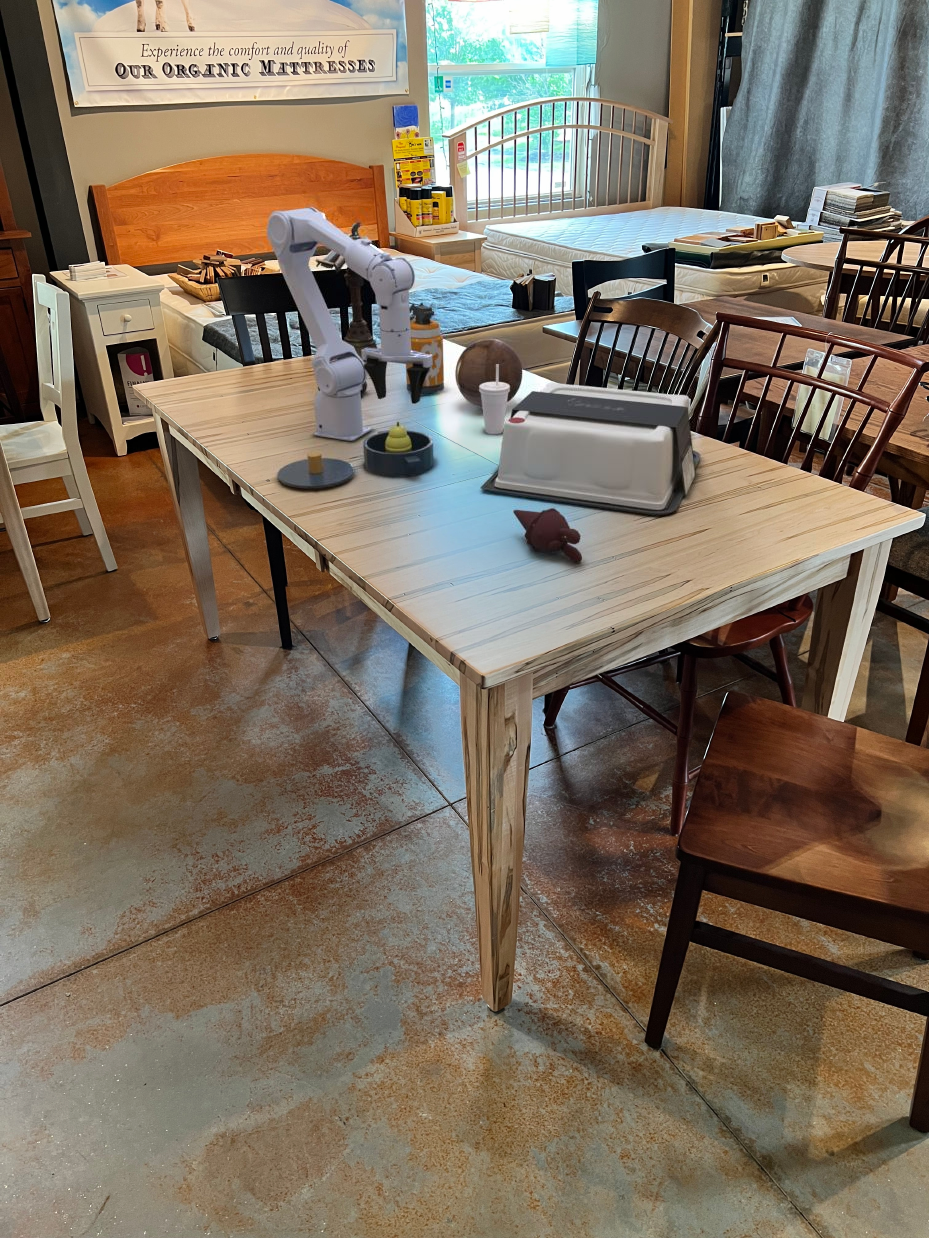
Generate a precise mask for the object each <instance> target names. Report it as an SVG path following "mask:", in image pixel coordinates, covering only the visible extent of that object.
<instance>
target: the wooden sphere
mask: <svg viewBox="0 0 929 1238" xmlns="http://www.w3.org/2000/svg"><path fill="white" fill-rule="evenodd" d="M497 364H498V365H499V382H503V383H507V384H508V385H509V386H510V391H509V392H508V398H507V403H509V402H510V401H511V400H513V398H514V397H515V396H516V394H517V393H518V392H519V389H520V387H521V384H522V381H523V366H522V362H521V359H520V357H519V355H518V353H517V352H516V351H515V349H513V347H512V346H511V345H510V344H507V343H505V342H504V341H502V340H499V339H495V338H484V339H479V340H477V341H473V342H472V343H471V344H469V345H468V346H466V348H464V350H463V351H462V353H461V354H460V355H459V357H458V360H457V361H456V366H455V371H454V372H455V375H454V376H455V383H456V386H457V389H458V390H459V392H460V394H461V396H462V397H463V398H464V399H465V400H466V401H467V402H468V403H470V404H471V405H473V406H475V407H477V408H481V409H483V406H482V399H481V392H480V391H479V386H480V385H481V384H483V383H486V382H496V365H497Z"/></svg>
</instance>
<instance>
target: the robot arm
mask: <svg viewBox="0 0 929 1238" xmlns="http://www.w3.org/2000/svg"><path fill="white" fill-rule="evenodd" d="M347 235H348V234H346V233H344V232H343V231H342V230H341V229H339V228H338V227H337V226H336V225H334V224H333V223H331V222H330V221H329V220H327V218H326V214H325V213H324V212H323V211H322V212H321V211H319V210H318V209H317V208H315V207H312V206H306V207H304V208H298V209H290V210H275V211H273V212H271V214H270V215H269V217H268V222H267V227H266V237H267V238H268V241H269V244H270V245H271V248H272V250H273V252H274V254H275V257H276V259H277V263H278V266H279V269H280V271H281V273H282V275H283V278H284V280H285V282H286V285H287V287H288V289H289V292H290V294H291V296H292V298H293V300H294V302H295V305H296V307H297V309H298V311H299V313H300V316H301V318H302V321H303V322H304V325H305V327H306V330H307V331H308V334H309V336H310V338H311V340H312V343H313V345H314V348H315V350H316V352H315V354H314V356H313V357H312V359H311V363H310V365H311V366H312V369H313V372H314V380H315V383H316V385H317V388H318V387H319V389H320V391H319V390H318V391H317V392H316V394H315V397H314V400H313V409H314V410H313V411H314V420H315V430H316V432H314V436H318V437H323V438H329V439H335V440H340V441H341V440H342V441H349V442H354V441H355V440H357V439H359V438H361V437H362V436H364V435H365V434H367V433H369V432H371V431H372V428H371V427H367V426H364V425H363V424H364V423H363V410H362V409H363V408H362V397H361V396H362V395H360V390H362V384H363V383H364V382H365V381H366V382H367V378H368V376H369V377H370V380H371V382H372V385H373V387H374V390H375V394H376V396H377V399H378V400H382V399H384V398H386V397H387V379H386V378H387V366H388V363H392V364H393V363H395V364H403V365H406V364H410V365H413V367H410V368H408V369H407V373H408V376H409V381H410V387H411V392H410V401H411V404H412V405H415V404H418V403H419V402H421V396H422V395H421V391H422V387H423V384H424V381H425V378H426V376H427V374H428V372H429V370H430V366H432V365H433V362H432V355H428V354H423V353H419V352H416V351H412V350H411V334H410V316H411V313H410V310H409V308H410V290H411V289H412V288H413V286H414V284H415V279H416V276H415V270H414V268H413V266H412V264H411V263H410V261H408V260H407V259H406V258H405V257H402V256H401V257H396V258H394V257H391V253H389V252H387V251H382V250H381V249H380V248H379V247H378V248H377V247H376V246H375V245H373V244H372V243H373V242H372V240H371V239H369V238H368V239H357V240H355V241H354V240H352V239H351V238H350V237H348V236H347ZM319 245H321V246H323V247H325V248H326V249H328V250H330V251H334V252H336V253H337V254H339V255H341V256H343V257H345V262H346V263H345V264H346V266H347V267H349V268H350V269H351V270H353V271H354V272H356V273H357V274H359V275H360V276H362V277H363V279H365V280H366V281H368V282H369V283H370V287H371V288H372V290H373V292H374V294H375V302H376V303H377V305H378V318H379V321H378V322H379V335H380V347H377V348H365V349H362V350H361V353H362V359H361V358H360V357H359V356H358V354H357V353H356V351H355V348H354V347H353V346H351V345H350V344H348V343H346V342H344V340H343V339H342V338H341V336H340V333H339V331H338V328H337V327H336V324H335V321H334V320H333V317H332V315H331V313H330V310H329V308H328V307H327V306H328V305H327V304H326V302H325V298H324V297H323V294H322V292H321V290H320V288H319V285H318V283H317V281H316V279H315V276H314V274H313V272H312V269H311V267H310V265H309V264H310V261H311V258H313V256H314V254H315V252H316V250H317V248H318V246H319ZM363 360H367V363H364V361H363Z"/></svg>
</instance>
